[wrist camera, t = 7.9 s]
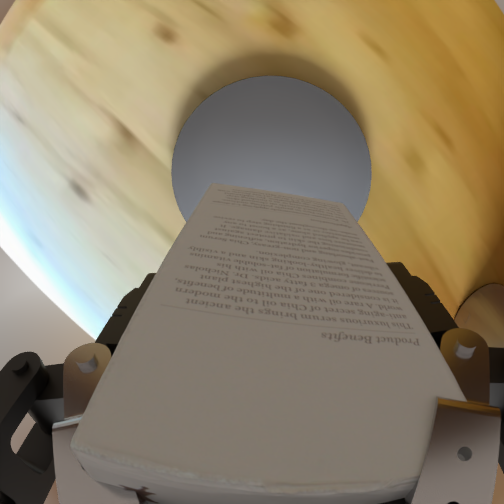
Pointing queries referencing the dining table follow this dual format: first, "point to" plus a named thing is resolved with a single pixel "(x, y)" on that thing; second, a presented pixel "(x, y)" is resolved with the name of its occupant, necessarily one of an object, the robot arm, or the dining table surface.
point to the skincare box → (267, 365)
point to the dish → (272, 145)
